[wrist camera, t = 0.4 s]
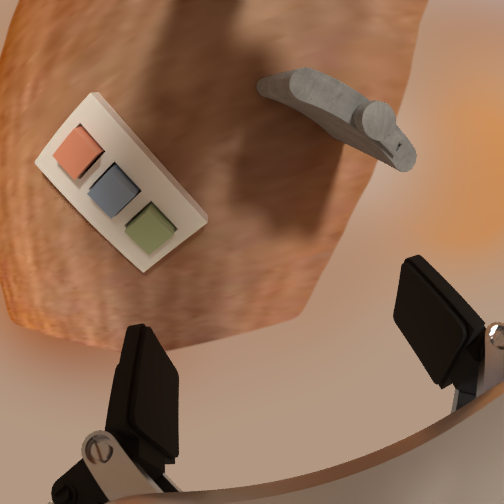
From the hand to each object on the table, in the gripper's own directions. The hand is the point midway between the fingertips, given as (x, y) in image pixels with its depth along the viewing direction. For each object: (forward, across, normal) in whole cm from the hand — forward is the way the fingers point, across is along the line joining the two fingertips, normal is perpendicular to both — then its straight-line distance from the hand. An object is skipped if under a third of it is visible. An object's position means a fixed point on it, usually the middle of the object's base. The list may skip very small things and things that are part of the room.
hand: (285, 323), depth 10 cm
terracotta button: (+33, +20, -6) cm, 39 cm away
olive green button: (+33, +14, +8) cm, 37 cm away
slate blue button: (+33, +17, +1) cm, 37 cm away
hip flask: (+35, -13, -4) cm, 37 cm away
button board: (+35, +17, +1) cm, 39 cm away
